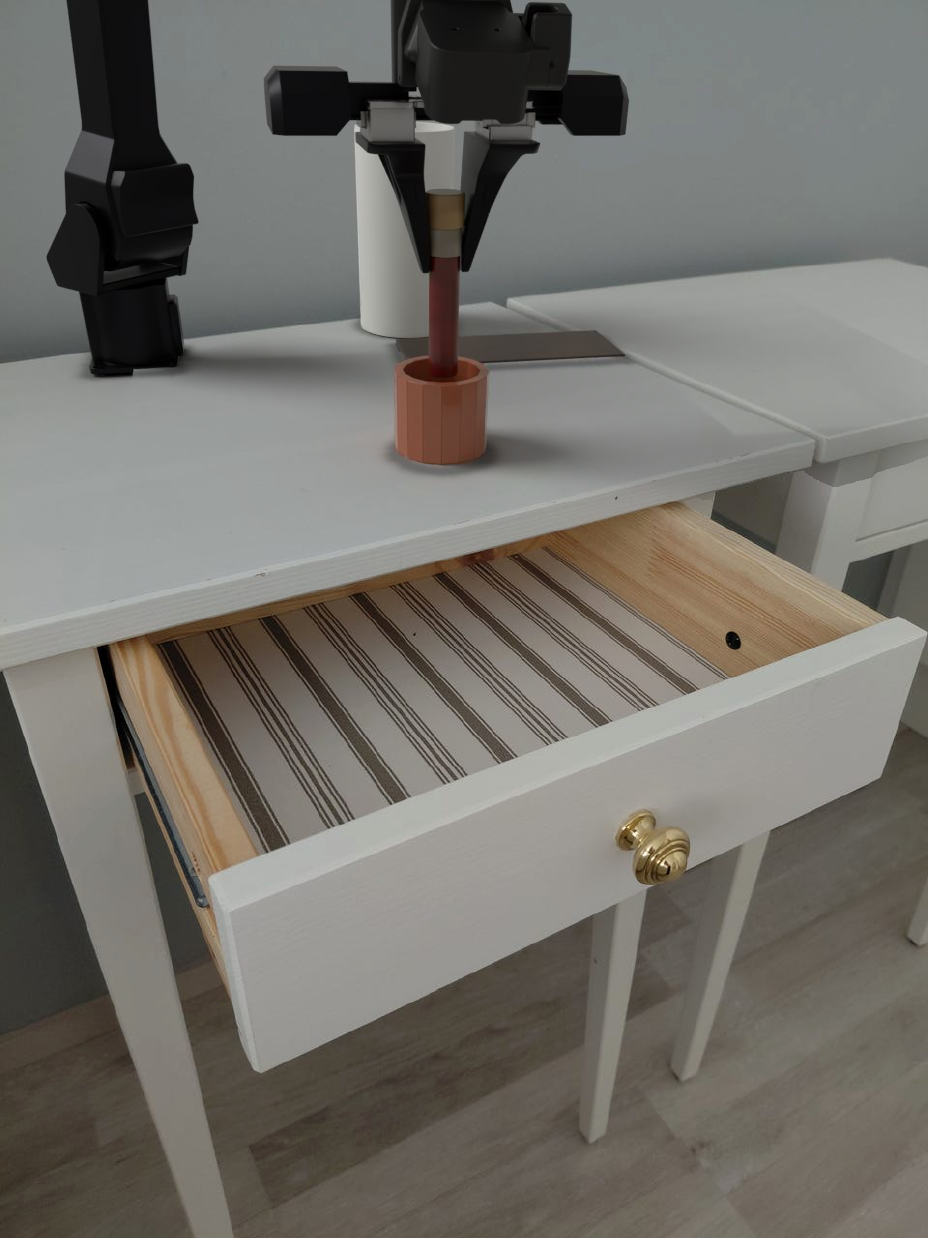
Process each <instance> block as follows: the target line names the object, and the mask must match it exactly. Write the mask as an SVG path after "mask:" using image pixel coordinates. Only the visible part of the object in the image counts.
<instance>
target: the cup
mask: <svg viewBox="0 0 928 1238" xmlns="http://www.w3.org/2000/svg"><path fill="white" fill-rule="evenodd" d="M355 132H360V127H359V126H358V125H357V124H354V129H353V137H354V140H353V141H354V166H355V195H356V196H355V197H356V224H357V227H356V228H357V248H358V249H357V253H358V254H357V255H358V256H357V257H358V282H359V283H358V284H359V308H360V309H359V310H360V311H359V313H360V327H361V328H362V329H363V330H364V331H365V332H368V333H370V334H374V335H377V336H382V337H385V338H395V339H410V338H429V273H422V272H421V270H420V268H419V265H418V262H417V259H416V256H415V253H414V250H413V247H412V244H411V240H410V237H409V234H408V231H407V228H406V225H405V222H404V219H403V216H402V213H401V210H400V206H399V204H398V201H397V198H396V195H395V192H394V190H393V188H392V185H391V183H390V181H389V179H388V176H387V174H386V172H385V170H384V168H383V165H382V163H381V161H380V159H379V157H378V154H370V153H367V152H366V151H365V150H364V149H363V148H362V147H361V146H359V145H358V144H357V143H356V140H355ZM415 138H416V139H418V140H419V141H421V142H422V143H424V144H425V146H426V148H425V165H424V181H425V192H426V191H427V190H431V189H455V169H456V167H455V166H456V165H455V163H456V160H455V158H456V128H455V126H452V125H451V124H444V123H439V122H428V121H416V128H415Z"/></svg>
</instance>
